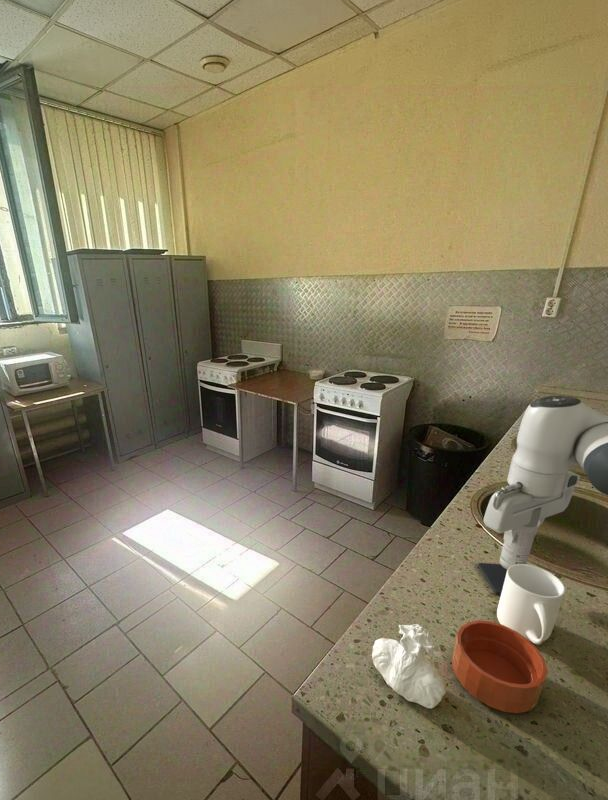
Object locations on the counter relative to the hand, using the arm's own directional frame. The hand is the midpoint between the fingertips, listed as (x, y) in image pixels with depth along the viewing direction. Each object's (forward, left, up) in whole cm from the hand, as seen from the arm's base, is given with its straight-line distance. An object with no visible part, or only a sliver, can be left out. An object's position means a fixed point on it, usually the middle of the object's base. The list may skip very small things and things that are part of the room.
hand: (519, 537), depth 81 cm
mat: (0, 0, -11) cm, 11 cm away
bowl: (+13, +24, -11) cm, 29 cm away
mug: (+3, +14, -11) cm, 18 cm away
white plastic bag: (+27, +26, -11) cm, 39 cm away
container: (0, 0, -7) cm, 7 cm away
